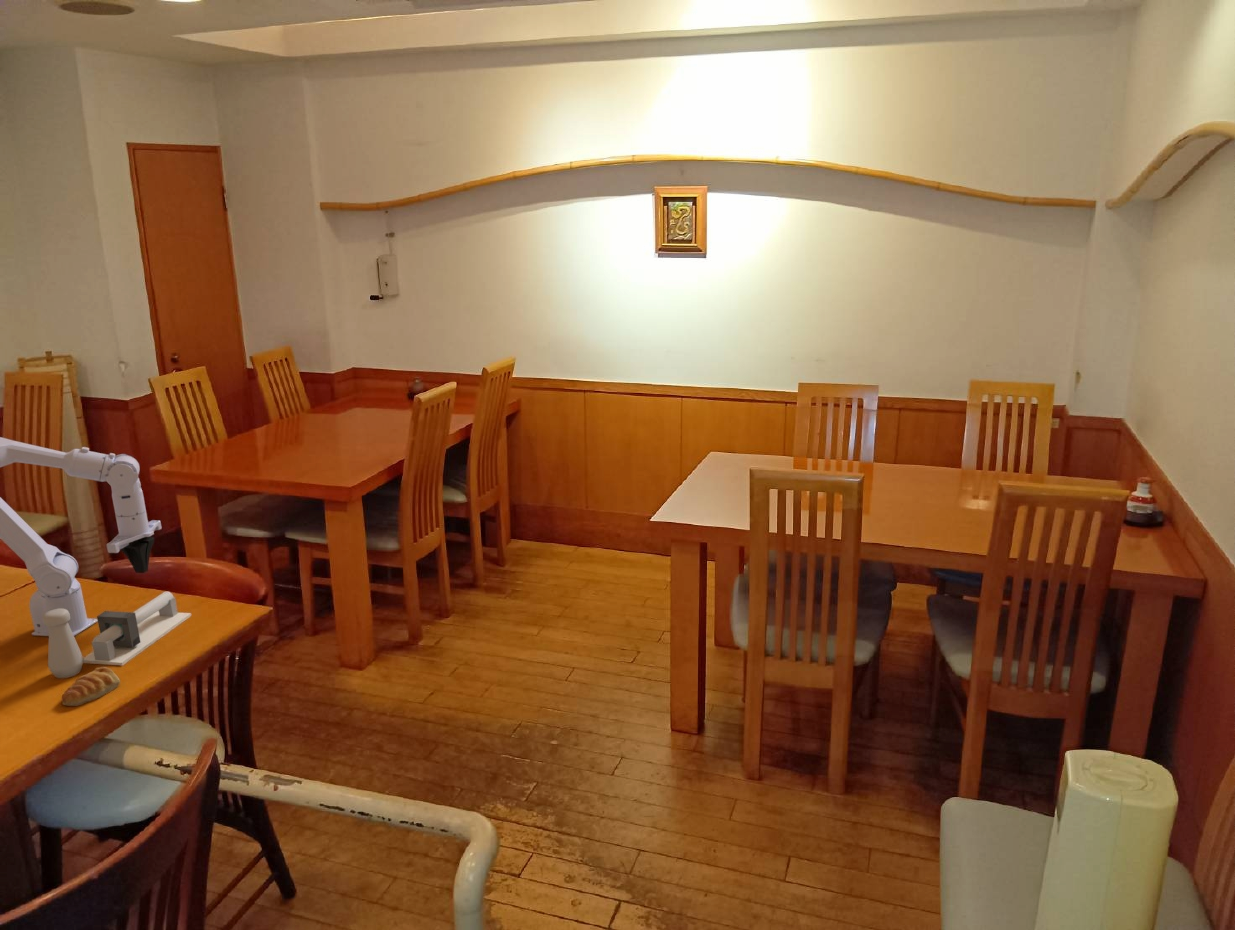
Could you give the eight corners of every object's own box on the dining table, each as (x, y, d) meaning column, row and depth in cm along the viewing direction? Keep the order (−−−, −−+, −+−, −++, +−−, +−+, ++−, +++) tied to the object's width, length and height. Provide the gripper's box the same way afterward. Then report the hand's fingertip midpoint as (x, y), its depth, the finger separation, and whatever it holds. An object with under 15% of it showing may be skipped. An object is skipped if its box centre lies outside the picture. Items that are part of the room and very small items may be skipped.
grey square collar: (132, 647, 174) (126, 617, 172) (102, 646, 175) (96, 616, 173) (140, 642, 176) (135, 612, 174) (111, 640, 177) (105, 610, 175)
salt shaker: (68, 682, 164) (55, 619, 160) (43, 679, 165) (29, 617, 161) (92, 667, 169) (80, 606, 166) (67, 664, 170) (54, 603, 167)
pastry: (81, 711, 154) (77, 692, 153) (52, 706, 156) (48, 687, 155) (124, 685, 163) (120, 667, 162) (96, 680, 165) (92, 662, 164)
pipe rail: (122, 665, 170) (117, 638, 168) (81, 662, 171) (75, 635, 169) (191, 615, 190) (187, 590, 189) (154, 613, 192) (149, 588, 190)
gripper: (124, 524, 177) (136, 586, 181) (169, 502, 191) (179, 559, 194) (93, 523, 178) (105, 584, 182) (140, 501, 192) (150, 558, 195)
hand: (141, 571), depth 188 cm, fingers closed
